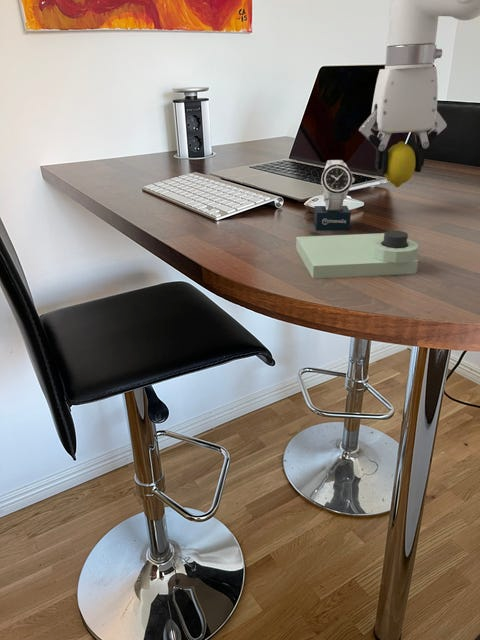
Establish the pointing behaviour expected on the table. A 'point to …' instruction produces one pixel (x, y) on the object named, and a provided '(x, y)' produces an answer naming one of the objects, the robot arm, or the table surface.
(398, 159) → the lemon
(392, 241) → the button
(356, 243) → the scale
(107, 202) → the table surface
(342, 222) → the watch
